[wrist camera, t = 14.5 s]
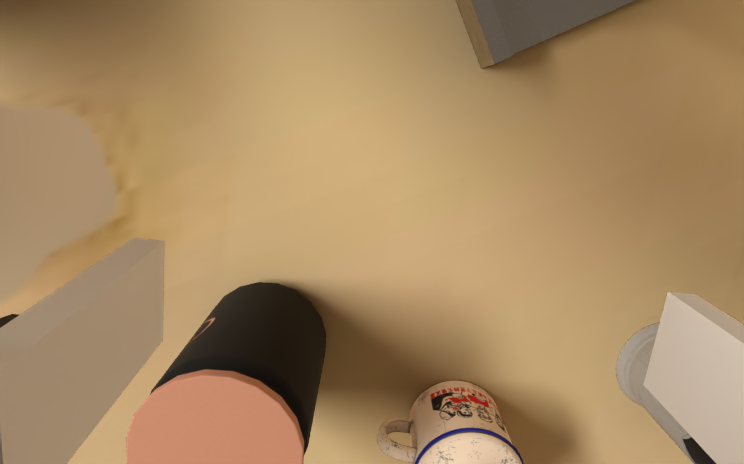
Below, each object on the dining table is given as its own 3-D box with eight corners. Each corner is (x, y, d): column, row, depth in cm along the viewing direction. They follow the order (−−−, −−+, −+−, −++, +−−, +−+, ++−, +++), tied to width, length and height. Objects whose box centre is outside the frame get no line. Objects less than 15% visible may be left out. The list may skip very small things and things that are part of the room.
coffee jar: (220, 266, 49) (136, 357, 31) (338, 291, 49) (320, 395, 32) (201, 373, 51) (113, 514, 34) (314, 397, 52) (285, 547, 34)
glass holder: (674, 302, 50) (799, 385, 35) (763, 406, 52) (916, 524, 38) (597, 363, 51) (687, 468, 37) (687, 462, 54) (806, 597, 39)
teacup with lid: (513, 388, 52) (553, 468, 40) (485, 471, 54) (515, 569, 42) (389, 359, 51) (394, 433, 40) (365, 444, 53) (363, 537, 42)
